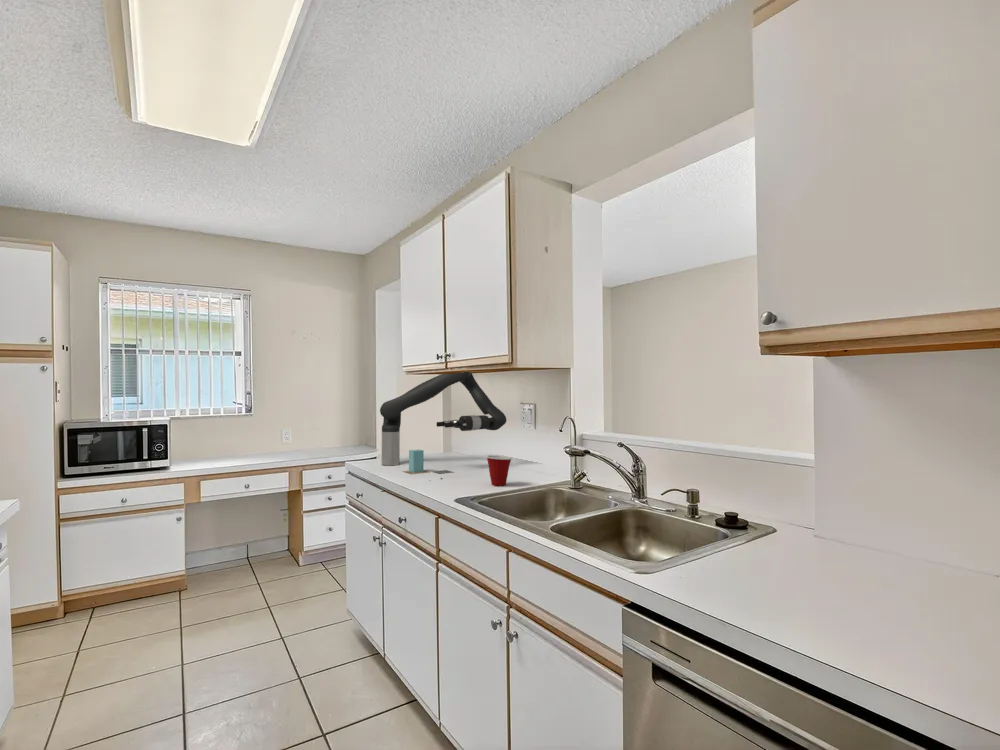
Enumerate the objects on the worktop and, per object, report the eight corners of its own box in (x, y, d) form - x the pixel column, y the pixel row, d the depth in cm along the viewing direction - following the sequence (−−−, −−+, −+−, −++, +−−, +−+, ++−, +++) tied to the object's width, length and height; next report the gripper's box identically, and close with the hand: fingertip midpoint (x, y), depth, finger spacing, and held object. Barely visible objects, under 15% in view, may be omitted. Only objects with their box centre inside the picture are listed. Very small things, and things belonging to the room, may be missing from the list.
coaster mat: (431, 473, 242) (431, 471, 242) (446, 472, 247) (446, 470, 247) (439, 476, 236) (439, 473, 236) (454, 474, 240) (454, 472, 240)
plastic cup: (516, 486, 210) (516, 457, 211) (490, 488, 207) (490, 458, 207) (507, 482, 221) (507, 453, 221) (482, 483, 217) (482, 454, 218)
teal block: (408, 471, 242) (409, 450, 243) (418, 470, 245) (418, 449, 246) (413, 473, 238) (413, 451, 239) (423, 472, 241) (423, 450, 241)
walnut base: (401, 473, 243) (401, 462, 243) (421, 471, 249) (421, 461, 249) (410, 476, 235) (410, 465, 235) (430, 474, 241) (430, 463, 241)
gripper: (462, 415, 265) (434, 416, 256) (477, 416, 253) (447, 417, 244) (462, 429, 264) (434, 431, 255) (477, 431, 253) (448, 433, 244)
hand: (440, 424), depth 250 cm, fingers open, 8 cm apart
